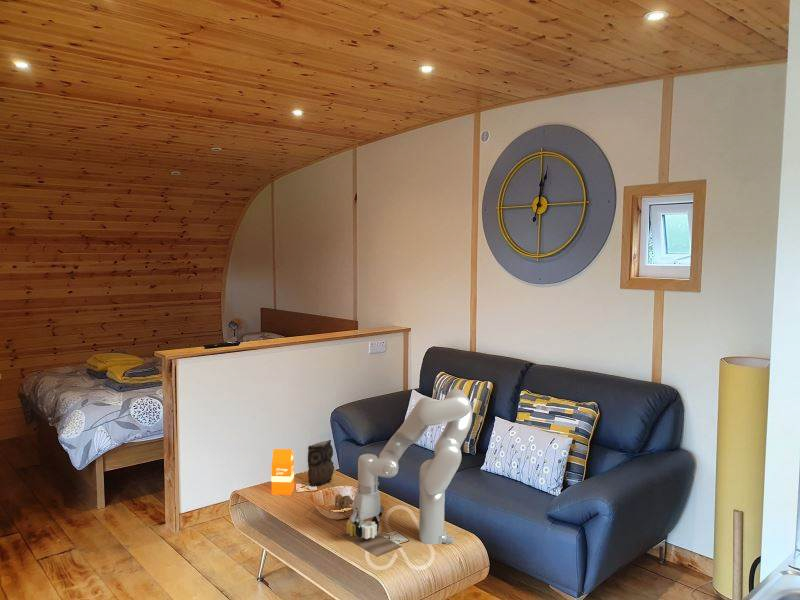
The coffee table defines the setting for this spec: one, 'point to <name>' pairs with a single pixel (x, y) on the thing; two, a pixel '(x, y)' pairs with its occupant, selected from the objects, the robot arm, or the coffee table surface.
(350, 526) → the gear
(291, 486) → the orange juice
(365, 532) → the loose gear
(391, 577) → the coffee table surface
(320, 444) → the owl
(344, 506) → the lion figurine
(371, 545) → the gear board
